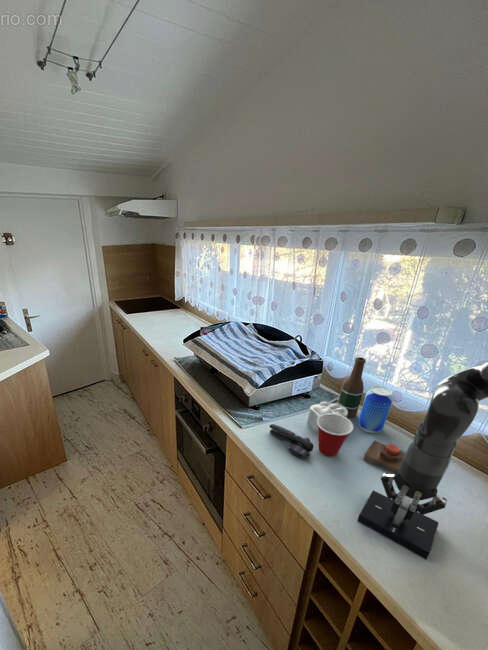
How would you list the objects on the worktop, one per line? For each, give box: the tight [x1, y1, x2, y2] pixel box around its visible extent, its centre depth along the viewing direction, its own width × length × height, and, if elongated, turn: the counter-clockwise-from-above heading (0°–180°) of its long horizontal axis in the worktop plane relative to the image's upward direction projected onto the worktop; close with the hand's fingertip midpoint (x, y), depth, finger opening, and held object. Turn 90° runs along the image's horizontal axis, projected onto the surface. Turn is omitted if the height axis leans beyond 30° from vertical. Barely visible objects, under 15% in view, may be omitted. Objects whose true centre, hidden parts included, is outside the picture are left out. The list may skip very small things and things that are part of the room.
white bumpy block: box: [306, 401, 348, 435], centre depth 113 cm, size 10×13×9 cm
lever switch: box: [356, 489, 440, 560], centre depth 77 cm, size 15×11×3 cm
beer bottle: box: [337, 356, 367, 419], centre depth 117 cm, size 8×8×24 cm
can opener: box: [269, 423, 315, 459], centre depth 105 cm, size 18×7×6 cm, turn 32°
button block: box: [362, 440, 406, 474], centre depth 98 cm, size 12×10×4 cm
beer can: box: [357, 385, 394, 434], centre depth 111 cm, size 8×8×16 cm
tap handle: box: [392, 496, 413, 528], centre depth 75 cm, size 6×2×6 cm, turn 136°
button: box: [385, 443, 401, 456], centre depth 97 cm, size 4×4×2 cm
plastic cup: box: [317, 413, 354, 458], centre depth 100 cm, size 11×11×12 cm
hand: (400, 515), depth 76 cm, fingers closed on tap handle
